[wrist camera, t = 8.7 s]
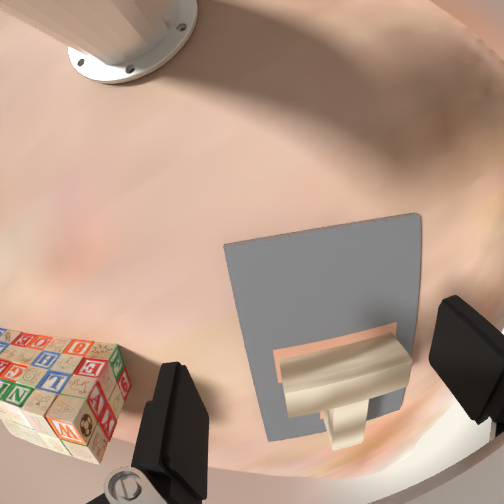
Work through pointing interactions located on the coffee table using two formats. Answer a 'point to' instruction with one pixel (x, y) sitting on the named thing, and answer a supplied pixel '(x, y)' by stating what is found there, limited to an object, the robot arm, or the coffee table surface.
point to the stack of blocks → (61, 392)
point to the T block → (344, 383)
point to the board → (323, 302)
